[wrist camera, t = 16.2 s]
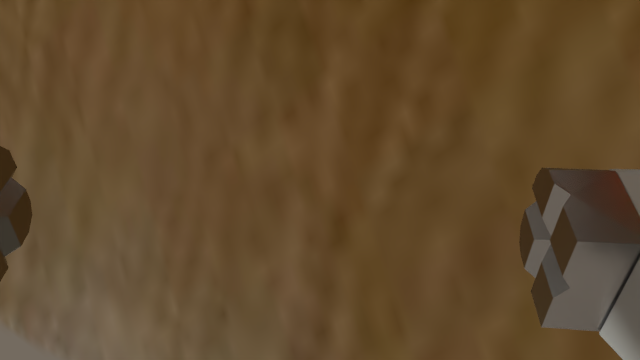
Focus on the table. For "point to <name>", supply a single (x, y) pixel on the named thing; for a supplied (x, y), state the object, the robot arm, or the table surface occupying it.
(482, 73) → the table surface
